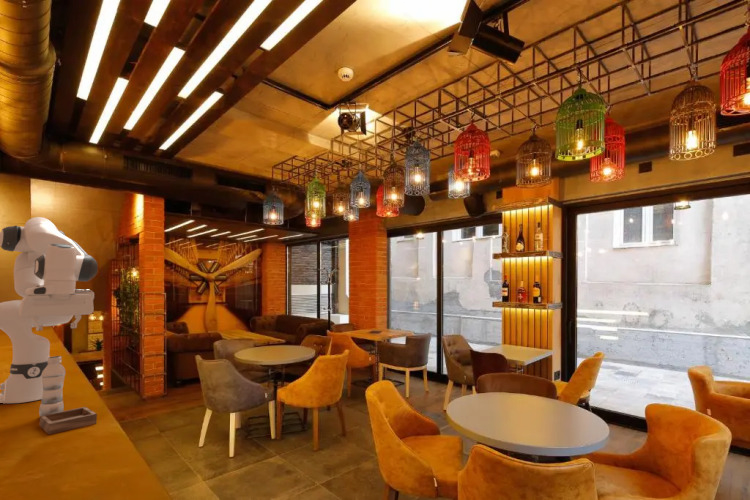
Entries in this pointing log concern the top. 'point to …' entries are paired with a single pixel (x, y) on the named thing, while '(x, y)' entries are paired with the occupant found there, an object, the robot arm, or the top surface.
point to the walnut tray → (67, 420)
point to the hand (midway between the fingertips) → (56, 329)
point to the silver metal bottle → (52, 387)
